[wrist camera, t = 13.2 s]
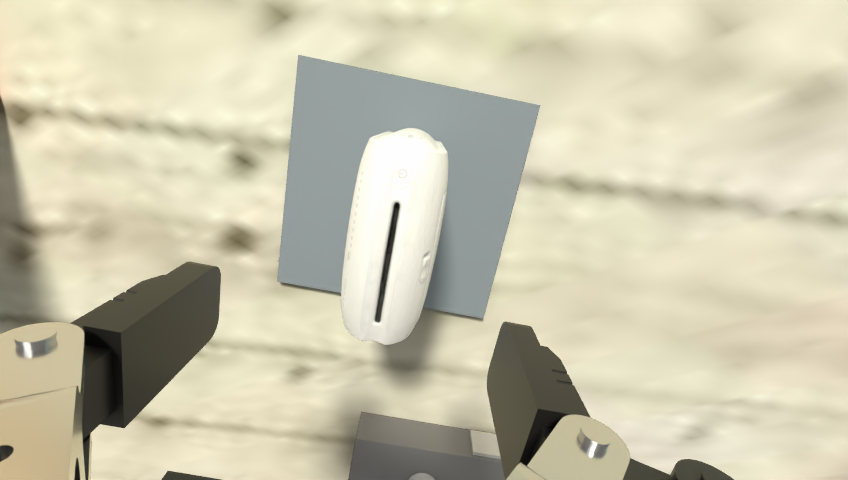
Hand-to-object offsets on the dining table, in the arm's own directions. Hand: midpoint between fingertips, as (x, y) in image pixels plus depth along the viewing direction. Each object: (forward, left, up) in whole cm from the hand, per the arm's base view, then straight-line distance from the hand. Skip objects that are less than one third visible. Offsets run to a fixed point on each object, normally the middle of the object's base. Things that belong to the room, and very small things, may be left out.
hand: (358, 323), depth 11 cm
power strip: (+23, +19, -19) cm, 35 cm away
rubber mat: (0, 0, -19) cm, 19 cm away
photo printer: (0, 0, -18) cm, 18 cm away
